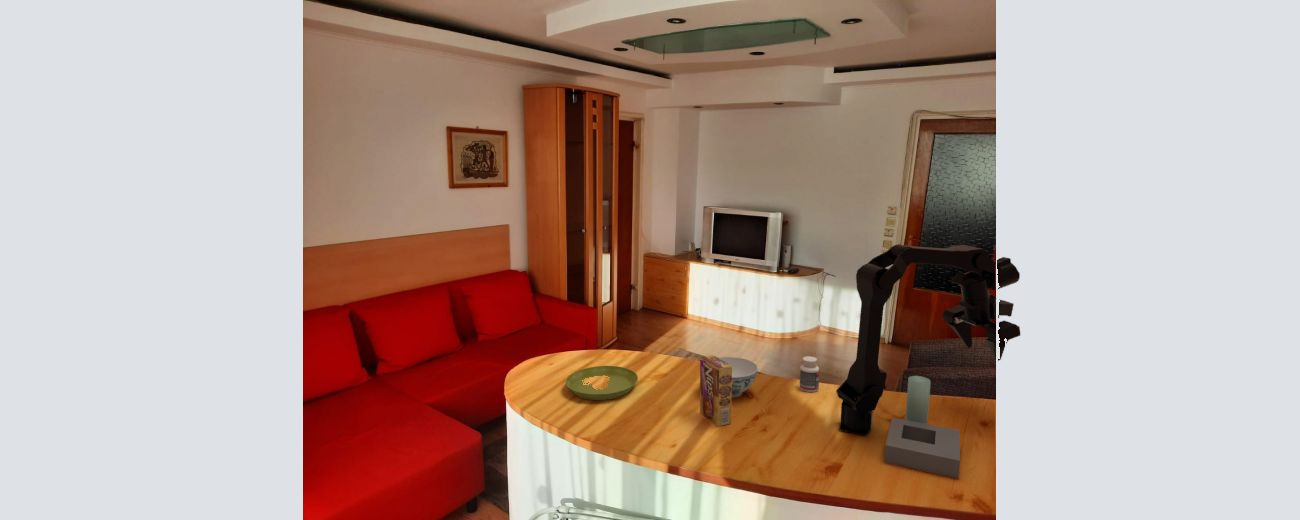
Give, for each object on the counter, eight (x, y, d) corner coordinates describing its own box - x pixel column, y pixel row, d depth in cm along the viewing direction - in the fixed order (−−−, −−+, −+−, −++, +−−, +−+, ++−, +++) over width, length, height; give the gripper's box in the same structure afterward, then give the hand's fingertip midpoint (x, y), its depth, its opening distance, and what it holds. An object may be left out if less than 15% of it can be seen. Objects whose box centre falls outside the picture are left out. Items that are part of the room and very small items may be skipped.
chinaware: (746, 409, 147) (746, 381, 146) (694, 397, 154) (694, 371, 153) (764, 387, 160) (765, 362, 158) (716, 378, 167) (716, 353, 166)
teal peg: (904, 428, 135) (907, 381, 133) (905, 420, 139) (909, 374, 137) (926, 433, 133) (930, 385, 130) (927, 424, 137) (931, 378, 135)
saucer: (651, 383, 165) (651, 373, 164) (609, 411, 148) (609, 400, 147) (595, 370, 176) (595, 360, 175) (550, 394, 159) (550, 383, 158)
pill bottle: (819, 393, 155) (820, 362, 154) (799, 391, 157) (800, 361, 155) (817, 385, 161) (818, 355, 159) (798, 384, 162) (799, 354, 160)
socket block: (884, 462, 121) (885, 445, 120) (891, 433, 133) (892, 417, 132) (958, 478, 115) (960, 460, 114) (958, 446, 127) (959, 430, 126)
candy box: (732, 423, 139) (733, 365, 136) (718, 427, 137) (718, 368, 135) (713, 409, 147) (713, 354, 144) (699, 413, 145) (698, 357, 142)
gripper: (1037, 295, 128) (1043, 356, 132) (974, 277, 146) (982, 331, 150) (995, 310, 127) (1003, 371, 130) (937, 290, 145) (946, 345, 148)
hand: (983, 353), depth 140 cm, fingers open, 9 cm apart
